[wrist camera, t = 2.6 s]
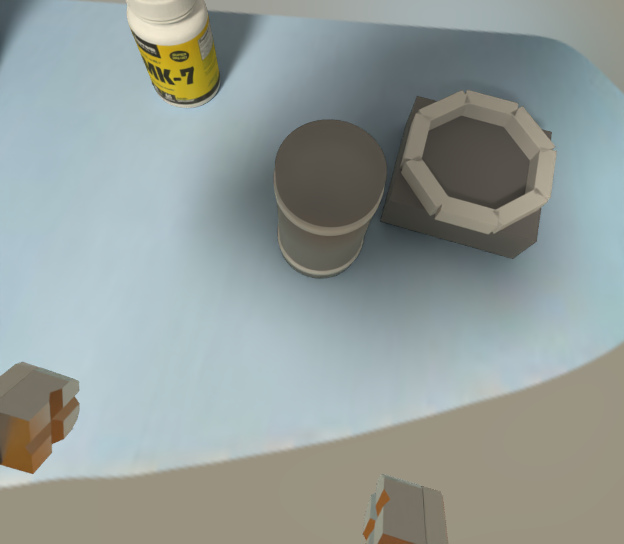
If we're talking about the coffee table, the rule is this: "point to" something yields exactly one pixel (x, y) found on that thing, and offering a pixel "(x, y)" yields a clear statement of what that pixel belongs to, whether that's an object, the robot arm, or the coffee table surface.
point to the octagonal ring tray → (472, 173)
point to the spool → (326, 195)
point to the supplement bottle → (176, 49)
